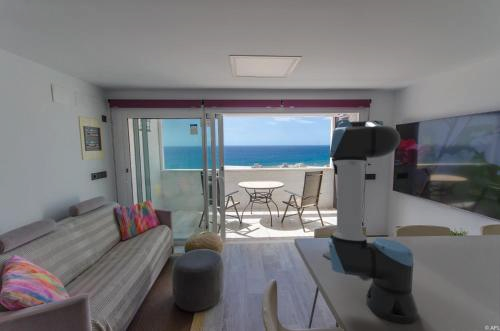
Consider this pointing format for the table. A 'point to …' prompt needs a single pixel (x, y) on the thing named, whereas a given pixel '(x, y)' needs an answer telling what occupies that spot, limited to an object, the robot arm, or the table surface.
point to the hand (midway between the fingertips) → (341, 186)
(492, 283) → the table surface
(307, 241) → the table surface
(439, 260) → the table surface
